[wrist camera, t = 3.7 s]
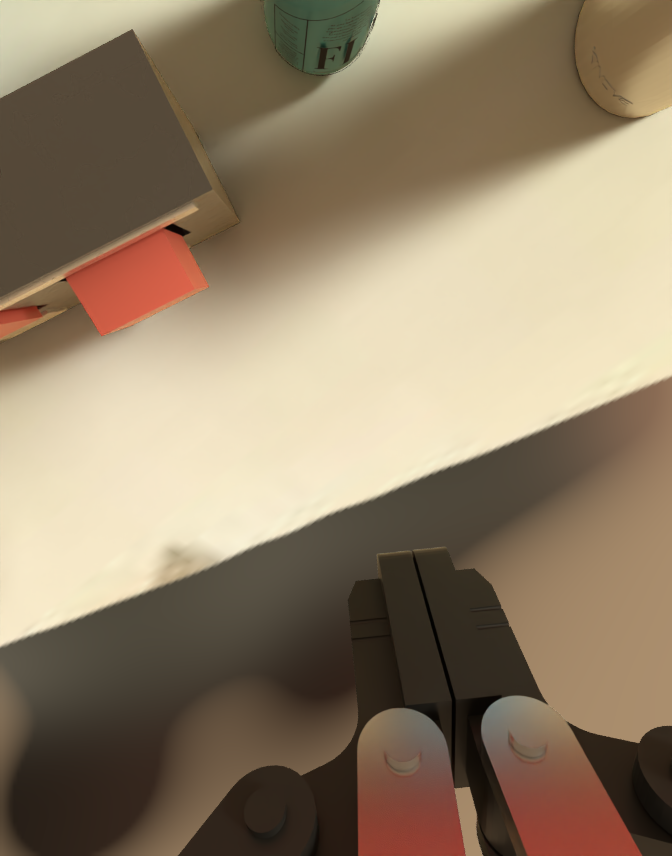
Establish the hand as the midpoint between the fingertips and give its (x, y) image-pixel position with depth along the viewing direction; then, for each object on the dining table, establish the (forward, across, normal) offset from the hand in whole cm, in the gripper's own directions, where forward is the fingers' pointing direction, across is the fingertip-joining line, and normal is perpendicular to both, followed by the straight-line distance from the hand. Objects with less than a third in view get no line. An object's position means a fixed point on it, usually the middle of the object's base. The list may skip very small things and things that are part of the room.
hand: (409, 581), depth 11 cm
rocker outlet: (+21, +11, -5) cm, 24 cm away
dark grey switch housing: (+28, +16, -6) cm, 33 cm away
